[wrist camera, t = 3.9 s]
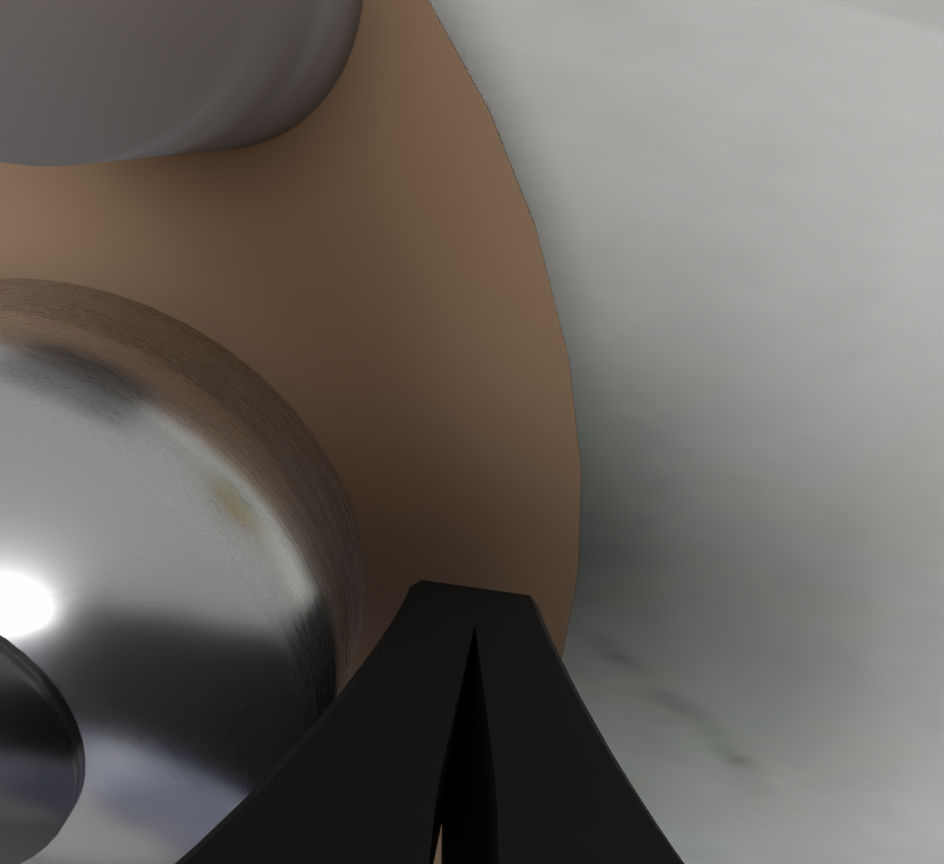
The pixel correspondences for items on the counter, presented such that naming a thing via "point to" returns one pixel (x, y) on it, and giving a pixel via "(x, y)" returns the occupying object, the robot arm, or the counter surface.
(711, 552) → the counter surface
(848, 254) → the counter surface
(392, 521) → the disc
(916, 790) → the counter surface
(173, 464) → the cover
